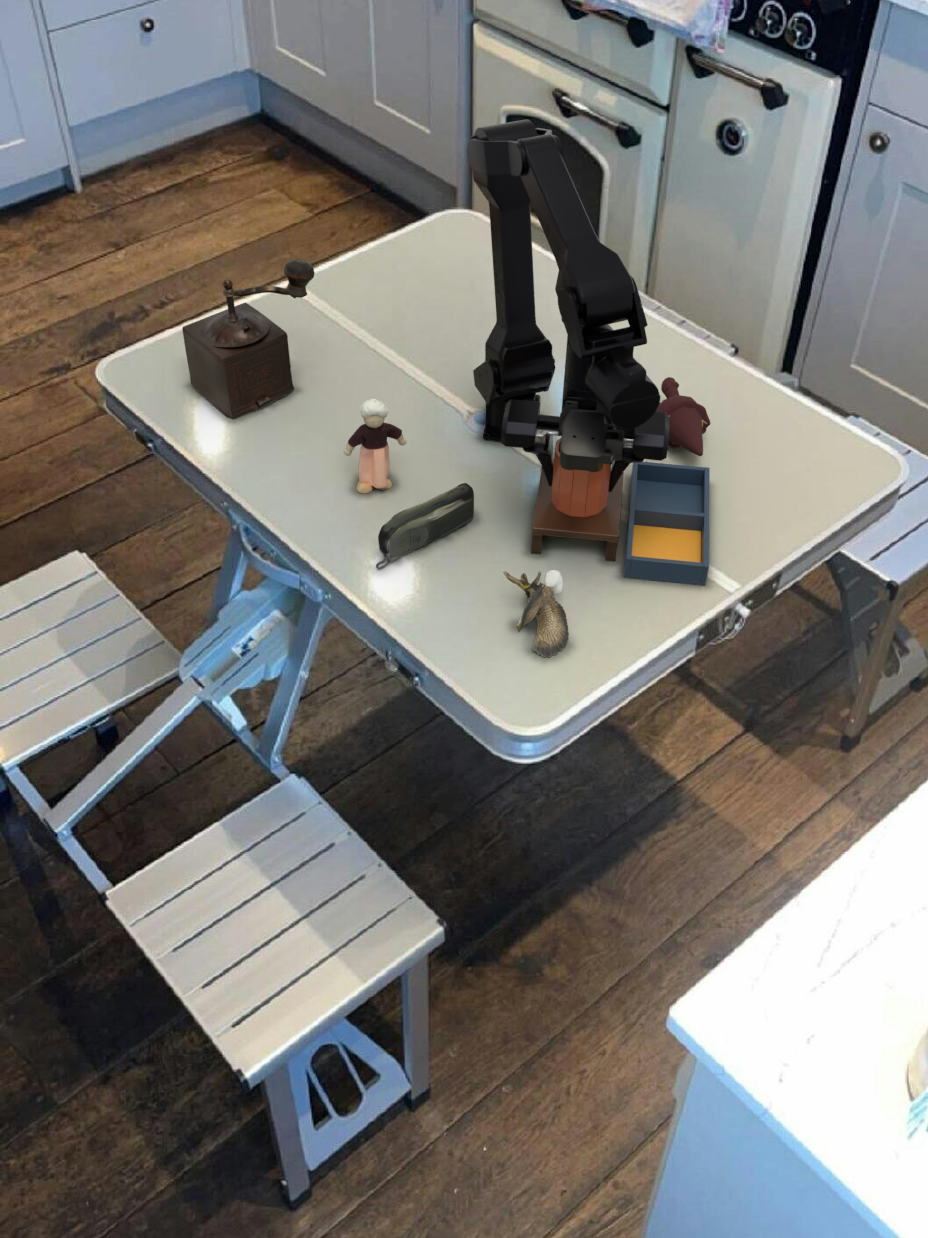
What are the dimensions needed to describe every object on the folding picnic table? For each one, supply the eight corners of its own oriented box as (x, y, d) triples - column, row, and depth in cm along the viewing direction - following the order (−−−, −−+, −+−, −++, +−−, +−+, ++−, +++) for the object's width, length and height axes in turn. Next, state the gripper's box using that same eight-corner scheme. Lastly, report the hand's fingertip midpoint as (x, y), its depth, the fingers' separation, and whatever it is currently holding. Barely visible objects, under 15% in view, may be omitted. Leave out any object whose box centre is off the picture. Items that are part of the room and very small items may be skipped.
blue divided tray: (623, 577, 150) (626, 558, 148) (630, 479, 162) (633, 460, 160) (705, 585, 149) (709, 566, 147) (706, 486, 162) (709, 467, 159)
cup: (549, 514, 151) (552, 463, 146) (554, 479, 156) (557, 428, 151) (605, 519, 151) (611, 469, 145) (608, 484, 155) (614, 433, 150)
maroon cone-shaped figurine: (737, 433, 159) (695, 373, 170) (683, 427, 157) (645, 367, 168) (717, 480, 163) (678, 419, 174) (665, 475, 161) (628, 413, 172)
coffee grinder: (233, 423, 170) (215, 303, 157) (189, 385, 176) (168, 267, 163) (329, 380, 177) (319, 262, 164) (283, 345, 183) (271, 228, 170)
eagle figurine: (484, 599, 145) (502, 644, 138) (518, 549, 142) (538, 593, 135) (539, 621, 149) (559, 667, 141) (573, 573, 146) (595, 617, 138)
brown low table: (530, 553, 152) (532, 527, 150) (540, 489, 161) (542, 463, 158) (615, 561, 152) (618, 536, 149) (620, 496, 160) (623, 471, 157)
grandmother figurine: (356, 502, 159) (350, 418, 150) (343, 484, 161) (337, 400, 152) (412, 484, 161) (410, 400, 152) (399, 467, 164) (396, 383, 155)
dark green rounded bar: (463, 476, 155) (365, 528, 148) (479, 488, 153) (381, 541, 146) (462, 508, 158) (366, 560, 151) (478, 520, 157) (382, 573, 150)
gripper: (496, 412, 136) (493, 523, 147) (674, 427, 135) (657, 539, 146) (508, 353, 144) (504, 463, 155) (676, 367, 142) (660, 478, 153)
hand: (580, 486), depth 152 cm, fingers closed on cup, 6 cm apart
